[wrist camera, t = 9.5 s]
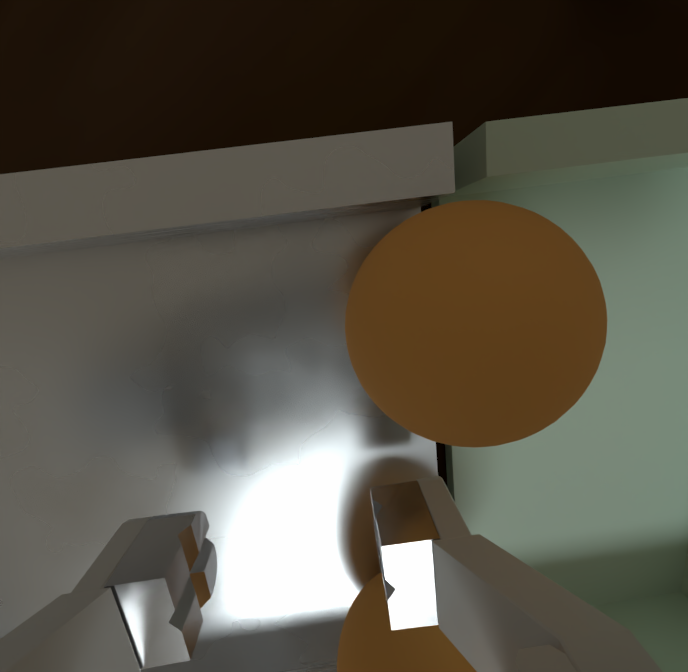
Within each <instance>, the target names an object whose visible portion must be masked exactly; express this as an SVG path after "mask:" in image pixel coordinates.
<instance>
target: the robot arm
mask: <svg viewBox="0 0 688 672" xmlns="http://www.w3.org/2000/svg"><path fill="white" fill-rule="evenodd" d="M370 496H371V505H372V510H373V516H374V521H373V522H374V529H375V536H376V544H377V551H378V557H379V563H380V569H381V573H382V576H383V584H384V592H385V598H386V603H387V609H388V614H389V620H390V625H391V630H398V629H407V628H416V627H424V626H433V625H439V628H440V630H441V631H442V632H443V633H444V634H445V635H446V637H447V638H448V639H449V640H450V641H451V642H452V644H453V645H454V646H455V647H456V648H457V649H458V650H459V652H460V653H461V654H462V655H463V656H464V657H465V659H466V660H467V661H468V662H469V663H470V664H471V666H472V667H473V668H474V669H475V670H476V671H477V672H662V670H661V669H660V668H659V667H658V665H657V664H656V663H655V662H654V660H653V659H652V658H651V657H650V655H649V654H648V653H647V652H646V650H645V649H644V648H643V647H642V645H641V644H640V643H639V642H638V640H637V639H636V638H635V636H634V635H633V634H632V633H631V631H630V630H629V629H627V628H625V627H624V626H622V625H621V624H619V623H618V622H616V621H615V620H613V619H611V618H610V617H608V616H607V615H605V614H604V613H602V612H601V611H599V610H597V609H596V608H594V607H593V606H591V605H590V604H588V603H586V602H585V601H583V600H582V599H580V598H579V597H577V596H576V595H574V594H572V593H571V592H569V591H568V590H566V589H565V588H563V587H562V586H560V585H558V584H557V583H555V582H554V581H552V580H551V579H549V578H547V577H546V576H544V575H543V574H541V573H540V572H538V571H537V570H535V569H533V568H532V567H530V566H529V565H527V564H526V563H524V562H523V561H521V560H519V559H518V558H516V557H515V556H513V555H512V554H510V553H508V552H507V551H505V550H504V549H502V548H501V547H499V546H498V545H496V544H494V543H493V542H491V541H490V540H488V539H487V538H485V537H483V536H482V535H480V534H476V535H472V534H471V532H470V531H469V529H468V527H467V525H466V523H465V521H464V519H463V517H462V515H461V513H460V511H459V509H458V507H457V506H456V504H455V502H454V500H453V498H452V496H451V494H450V492H449V490H448V488H447V486H446V484H445V482H444V480H443V479H442V478H441V477H440V476H434V477H428V478H422V479H416V481H408V482H401V483H394V484H387V485H381V486H374V487H370ZM209 527H210V526H209V523H208V520H207V516H206V513H204V512H202V511H192V512H183V513H175V514H166V515H158V516H153V517H143V518H136V519H129V520H128V521H126V522H124V523H122V525H121V526H120V527H119V529H118V530H117V531H116V533H115V534H114V535H113V537H112V538H111V539H110V541H109V542H108V543H107V545H106V546H105V547H104V549H103V550H102V551H101V553H100V554H99V556H98V557H97V558H96V560H95V561H94V562H93V564H92V565H91V566H90V568H89V569H88V570H87V572H86V573H85V574H84V576H83V577H82V578H81V580H80V581H79V582H78V584H77V585H76V587H75V588H74V589H73V591H72V592H71V593H68V594H62V595H60V596H59V597H57V598H56V599H55V600H53V601H52V602H51V603H49V604H48V605H46V606H45V607H44V608H42V609H41V610H40V611H38V612H37V613H35V614H34V615H33V616H31V617H30V618H29V619H27V620H26V621H24V622H23V623H22V624H20V625H19V626H18V627H16V628H15V629H13V630H12V631H11V632H9V633H8V634H7V635H5V636H4V637H2V638H1V639H0V672H141V669H146V668H152V667H157V666H162V665H168V664H173V663H179V662H184V661H190V660H191V657H192V654H193V651H194V648H195V645H196V642H197V639H198V636H199V633H200V630H201V627H202V624H203V617H202V614H201V610H200V609H201V608H202V607H203V606H204V604H205V603H206V602H207V601H208V600H209V599H210V598H211V596H212V593H213V590H214V586H215V583H216V575H217V554H216V550H215V546H214V544H213V543H212V542H211V541H210V540H208V539H207V538H206V534H207V532H208V529H209Z"/></svg>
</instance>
